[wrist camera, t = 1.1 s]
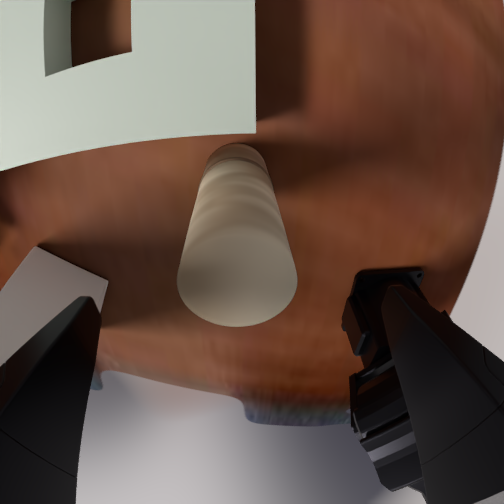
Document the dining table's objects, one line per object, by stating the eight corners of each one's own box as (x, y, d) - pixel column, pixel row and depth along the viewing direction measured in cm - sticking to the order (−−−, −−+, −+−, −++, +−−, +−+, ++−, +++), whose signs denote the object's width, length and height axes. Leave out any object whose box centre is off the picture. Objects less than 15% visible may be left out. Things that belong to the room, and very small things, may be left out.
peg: (267, 141, 16) (304, 231, 8) (266, 199, 18) (293, 324, 10) (202, 143, 16) (165, 236, 8) (206, 201, 18) (185, 328, 10)
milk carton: (34, 299, 22) (-38, 475, 7) (35, 243, 19) (-76, 457, 3) (96, 329, 24) (48, 521, 9) (109, 278, 21) (37, 527, 5)
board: (250, -85, 7) (253, -108, 5) (252, 122, 15) (255, 133, 13) (11, -19, 7) (-15, -22, 4) (20, 156, 15) (-6, 172, 12)
